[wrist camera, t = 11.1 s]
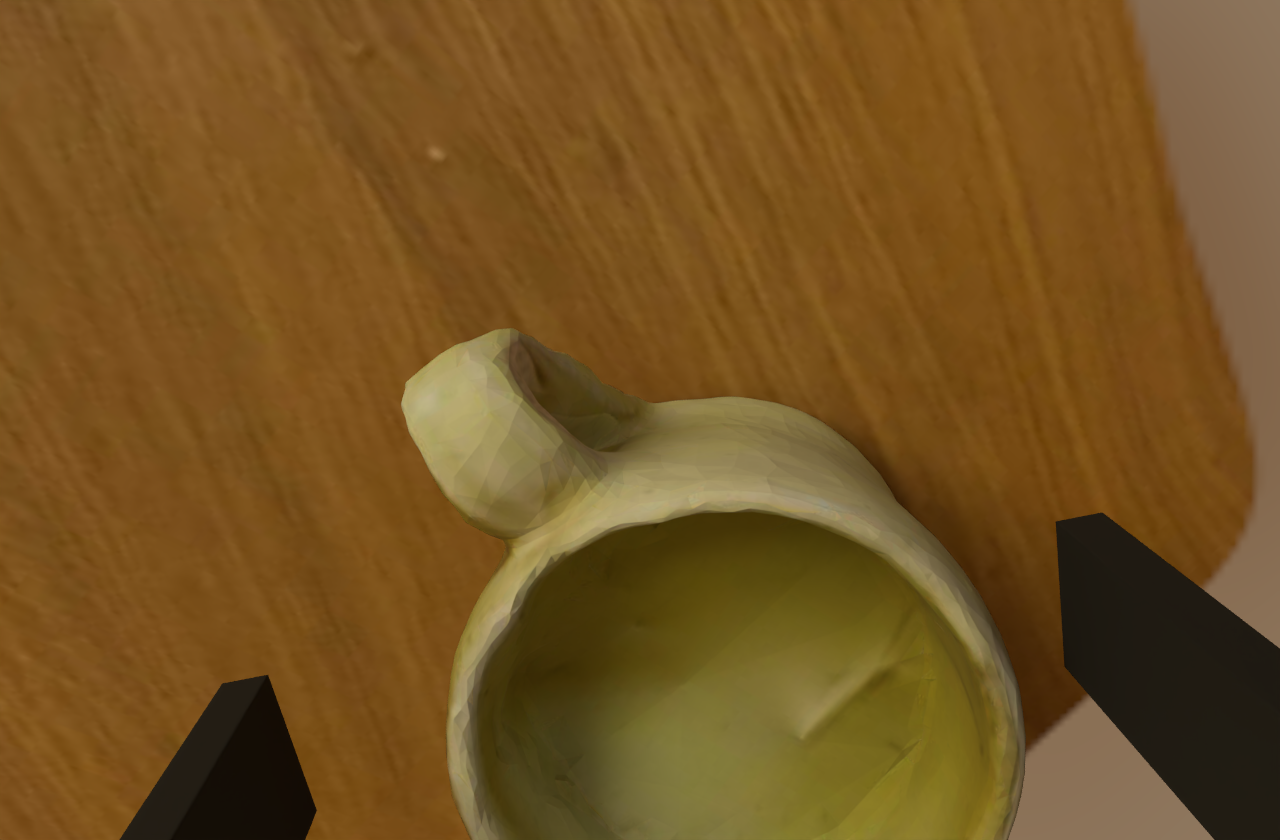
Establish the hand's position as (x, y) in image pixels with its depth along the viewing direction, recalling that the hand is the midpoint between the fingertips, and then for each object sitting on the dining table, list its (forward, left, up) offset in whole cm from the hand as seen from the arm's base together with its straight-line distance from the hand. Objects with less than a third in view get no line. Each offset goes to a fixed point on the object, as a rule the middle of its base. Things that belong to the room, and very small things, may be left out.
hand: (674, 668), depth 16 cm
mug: (0, 0, -7) cm, 7 cm away
